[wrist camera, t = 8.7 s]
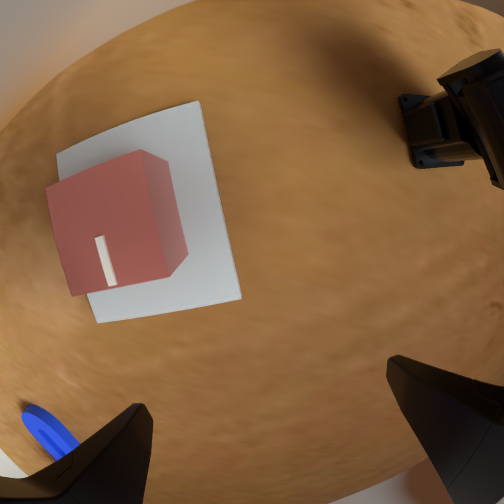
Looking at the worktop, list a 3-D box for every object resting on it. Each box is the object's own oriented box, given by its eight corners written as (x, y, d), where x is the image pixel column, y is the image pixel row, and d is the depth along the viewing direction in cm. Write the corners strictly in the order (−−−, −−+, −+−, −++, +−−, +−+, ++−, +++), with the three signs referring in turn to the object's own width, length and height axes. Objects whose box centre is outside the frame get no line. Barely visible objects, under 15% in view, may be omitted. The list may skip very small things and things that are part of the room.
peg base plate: (201, 106, 17) (189, 80, 12) (241, 292, 20) (242, 320, 15) (64, 155, 17) (29, 149, 12) (103, 317, 20) (77, 343, 15)
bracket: (123, 482, 26) (110, 523, 17) (88, 478, 26) (74, 513, 17) (47, 404, 22) (16, 446, 14) (19, 403, 23) (-9, 438, 14)
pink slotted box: (168, 161, 17) (139, 148, 11) (188, 254, 18) (168, 278, 13) (89, 187, 17) (43, 188, 11) (109, 272, 18) (70, 297, 13)
